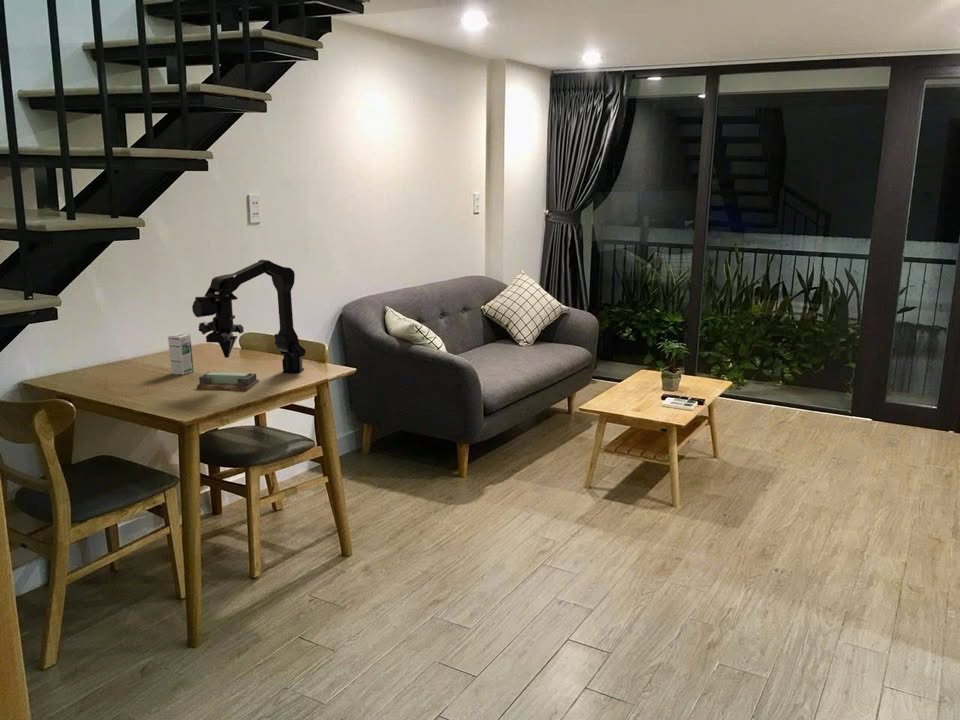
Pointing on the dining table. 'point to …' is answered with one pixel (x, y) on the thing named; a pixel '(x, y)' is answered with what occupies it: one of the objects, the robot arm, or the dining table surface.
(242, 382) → the frame
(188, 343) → the syrup box
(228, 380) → the slat
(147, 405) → the dining table surface
